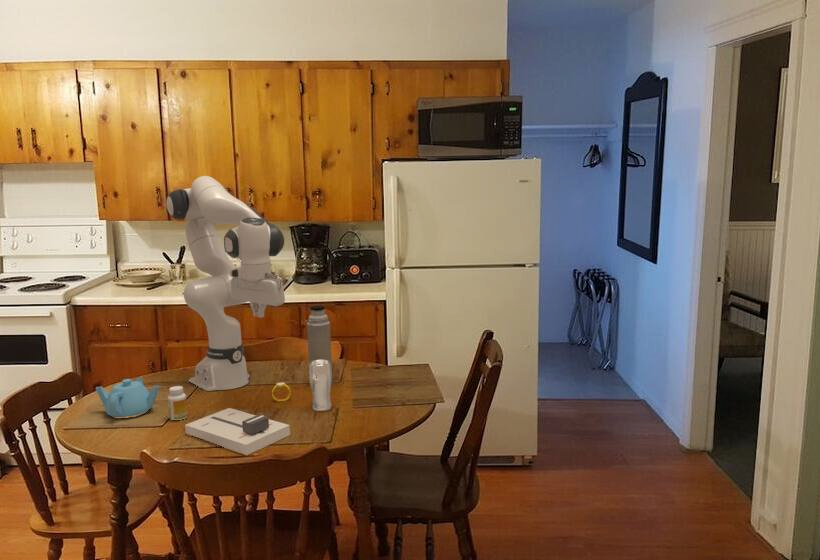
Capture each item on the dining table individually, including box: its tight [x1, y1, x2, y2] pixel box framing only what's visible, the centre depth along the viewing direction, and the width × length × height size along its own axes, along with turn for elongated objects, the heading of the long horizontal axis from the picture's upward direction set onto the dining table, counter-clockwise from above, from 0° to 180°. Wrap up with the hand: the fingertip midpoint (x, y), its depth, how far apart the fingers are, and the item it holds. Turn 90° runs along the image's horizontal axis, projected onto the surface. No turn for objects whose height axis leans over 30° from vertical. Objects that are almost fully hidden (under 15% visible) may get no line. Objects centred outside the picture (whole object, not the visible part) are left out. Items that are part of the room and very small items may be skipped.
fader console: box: [184, 407, 291, 456], centre depth 191 cm, size 26×16×3 cm, turn 55°
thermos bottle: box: [306, 305, 334, 387], centre depth 231 cm, size 8×8×28 cm
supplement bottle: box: [167, 385, 189, 421], centre depth 204 cm, size 5×5×10 cm
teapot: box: [95, 377, 160, 417], centre depth 210 cm, size 15×15×11 cm
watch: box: [271, 381, 292, 402], centre depth 218 cm, size 6×3×6 cm, turn 101°
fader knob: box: [242, 414, 269, 435], centre depth 185 cm, size 4×6×3 cm, turn 145°
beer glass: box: [308, 359, 333, 412], centre depth 209 cm, size 7×7×15 cm
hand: (258, 316), depth 203 cm, fingers closed
